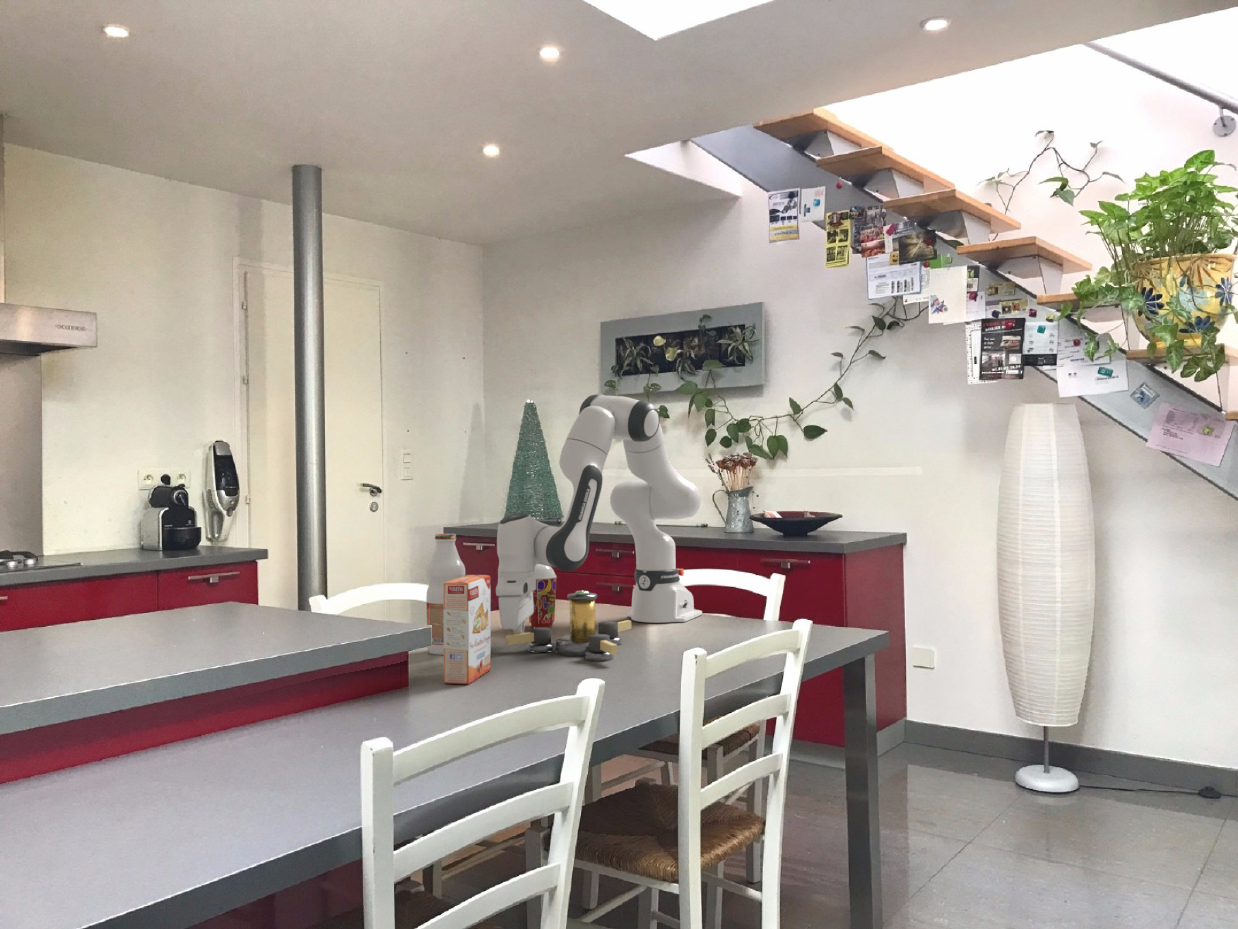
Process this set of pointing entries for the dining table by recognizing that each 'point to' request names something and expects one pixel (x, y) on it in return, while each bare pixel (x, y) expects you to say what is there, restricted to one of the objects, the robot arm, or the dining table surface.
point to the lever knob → (613, 627)
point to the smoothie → (544, 597)
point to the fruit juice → (441, 585)
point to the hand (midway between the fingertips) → (519, 640)
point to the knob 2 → (602, 644)
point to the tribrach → (578, 630)
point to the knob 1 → (531, 636)
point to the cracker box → (466, 628)
